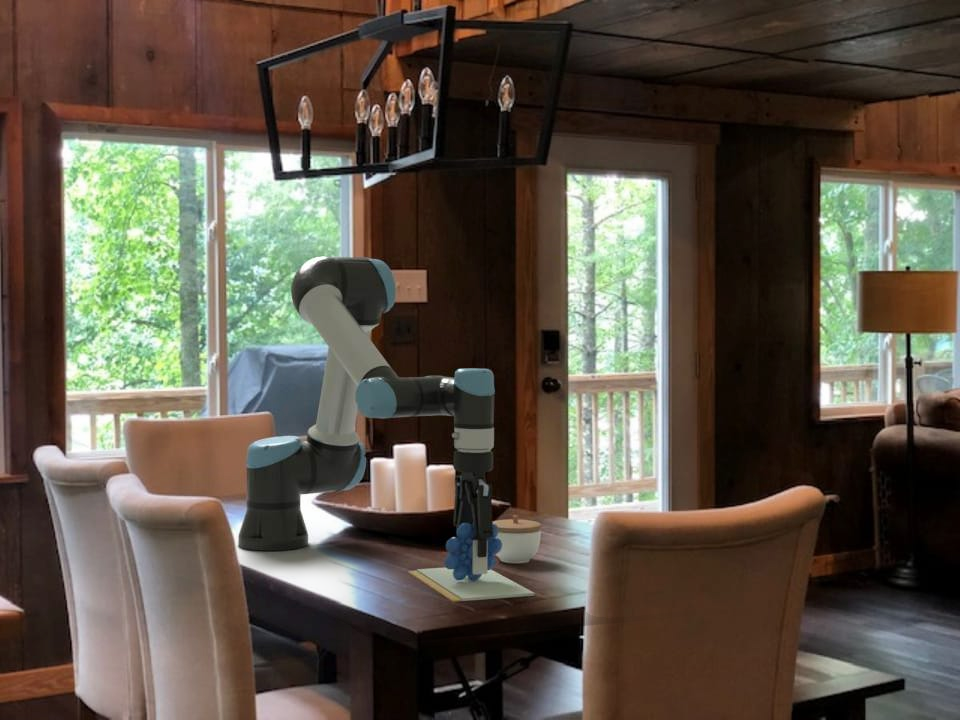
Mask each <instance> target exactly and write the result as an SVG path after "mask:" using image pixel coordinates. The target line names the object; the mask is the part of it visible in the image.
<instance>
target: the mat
mask: <svg viewBox="0 0 960 720" xmlns="http://www.w3.org/2000/svg"><path fill="white" fill-rule="evenodd" d="M453 570H454V569H447V568H446V567H434V568H433V567H432V568H419V569H418V568H417V569H416V571H417V572H419V573H420V574H422V575H423V576H425V577H426V578H428V579H430V580H431V581H433V582H434V583H436V584H437V585H439V586H440V587H442V588H444V589H445V590H447V591H448V592H450V593H451V594H453V595H455V596H456V597H458V598H459V599H461V601H460V602H467V601H470V602H471V601H482V600H494V599H496V600H497V599H505V598H506V599H507V598H508V599H509V598H518V597H519V598H520V597H521V598H522V597H531V596H533V597H534V596H535V592H533V591H532V590H530V589H528V588H526V587H524V586H522V585H521V584H518V583H517V582H515V581H513V580H511V579H509V578H508V577H506V576H503V575H502V574H500V573H499V572H496V571H494V570H492V569H490V570H487V574H482V575H481V577H480V578H479V579H477V580H470V579H468V576H466V577H465V578H464V579H463V580H456V579H455V578H454V576H453Z"/></svg>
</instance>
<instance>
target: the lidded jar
mask: <svg viewBox="0 0 960 720" xmlns="http://www.w3.org/2000/svg"><path fill="white" fill-rule="evenodd" d="M492 522H493V524H495V525H497V527H498V530H499V531H498V535H497V536H496V537H495V538H498V539H500V540H501V542H502V548H501V550H500V551H499V552H498V553H497V554H495V555H496V556H497V558H499V560H500V562H502V563H508V564H525V563H529V562H530V561H531V559H532V558H533V557H534V556H535V555H536V553H537V552H538V550H539V547H540V543H541V536H542V535H541V534H542V533H541V532H542V531H541V530H542V524H541V522H539V521H535V520H529V519H519V516H518V515H515V514H514V515H512V518H511V519H509V518H508V519H498V520H494V521H493V520H492Z"/></svg>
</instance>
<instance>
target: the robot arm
mask: <svg viewBox="0 0 960 720" xmlns="http://www.w3.org/2000/svg"><path fill="white" fill-rule="evenodd" d="M295 272H296V273H294V276H293V279H292V282H291V285H290V294H291V295H290V296H291V301H292V305H293V307H294V308H295V310H296V312H297V313H298V315H299V317H301V319H302V320H303V321H304V322H305V323H308V324H311V325H312V326H313V327H314V328H315V330H316V331H317V332H318V334H319V335H320V337H321V338H322V340H324V342H325V344H326V345H327V346H328V350H327V354H326V359H325V360H326V361H325V367H324V372H323V373H324V375H323V380H322V384H321V385H322V386H321V392H320V398H319V405H318V410H317V414H316V415H317V416H316V421H315V422H316V423H314V425H312V426H311V427H309V429H308V430H307V435H306V440H305V441H302V440H301V438H300V437H299V436H296V435H295V436H294V435H282V436H271V437H267V438H262V439H259V440H256V441H253V442H252V443H250V445H249V446H248V447H247V453H246V461H245V466H246V512H245V514H244V518H243V520H242V524H241V526H240V530H239V533H238V539H237V543H238V544H237V545H238V547H240V548H242V549H246V550H252V551H253V550H254V551H268V552H269V551H271V552H272V551H273V552H274V551H288V550H295V549H301V548H304V547H306V546H308V545H309V532H308V530H307V525H306V522H305V519H304V515H303V514H302V509H301V495H313V494H321V493H325V494H326V493H339V492H342V491H348V490H352V489H353V488H355V487H357V486H358V484H359V483H360V482H361V480H362V479H363V477H364V474H365V471H366V467H367V457H366V456H365V455H366V450H365V447H364V445H363V443H362V442H361V441H360V436H359V435H358V432H356V431H355V427H356V422H357V421H356V420H357V415H358V412H359V413H360V415H362V416H363V417H364V418H365V417H366V418H369V419H370V418H371V419H372V418H373V419H381V420H382V419H390V418H391V419H392V418H406V417H407V418H408V417H426V416H429V417H430V416H431V417H432V416H449V417H453V418H454V419H453V420H454V422H453V428H454V432H453V433H451V437H452V438H453V439H454V440H453V446H454V449H456V450H455V451H454V452H453V469H454V470H455V471H457V472H461V475H455V476H454V485H455V492H454V505H453V507H454V509H453V523H452V524H453V527H456V530H457V529H458V527H459V526H460V525H461V524H462V523H469V524H470V525H471V526H472V523H473V525H474V533H475V536H473V537H472V540H473V571H472V574H487V560H488V539H489V538H492V537H493V503H492V502H493V501H492V498H493V497H492V496H493V485H492V483H491V484H487V481H486V472H491V471H492V470H493V469H494V452H493V451H492V449H493V448H494V446H495V443H494V442H495V427H494V423H495V421H494V419H495V415H494V414H495V394H496V393H495V392H496V390H495V375H494V373H493V371H492V370H491V369H489V368H479V367H478V368H475V367H474V368H473V367H472V368H469V367H468V368H458V369H457V370H455V372H454V377H451V376H443V375H439V374H438V375H432V374H431V375H426V376H420V377H419V376H418V377H415V376H414V377H411V376H410V377H400V376H398V375H397V373H396V372H395V371H394V369H393V368H392V367H391V366H390V364H389V363H388V362H387V360H386V359H385V357H384V356H383V355H382V353H380V351H379V349H377V347H376V345H375V344H374V343H373V341H372V339H371V334H372V330H373V329H375V327H377V326H379V325H380V322H381V318H382V314H385V313H387V312H389V311H391V310H392V309H391V308H393V307H394V304H395V301H396V297H397V289H396V288H397V287H396V281H395V277H394V275H393V273H392V270H391V268H390V267H389V266H388V264H387V263H386V262H384V261H383V260H380V259H375V258H369V257H365V256H363V257H354V256H353V257H351V256H350V257H349V256H348V257H344V256H336V257H335V256H324V255H323V256H318V257H314V258H312V259H309V260H307V261H305V262H304V263H303V264H302V265H301V266H300V267H299V268H298V269H297V271H295Z"/></svg>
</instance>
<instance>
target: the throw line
mask: <svg viewBox="0 0 960 720" xmlns="http://www.w3.org/2000/svg"><path fill="white" fill-rule="evenodd" d="M407 573H408V574H410V575H411V576H413V577H414V578H416V579H417V580H419V581H421V582H422V583H424V584H425V585H426V586H428V587H430V588H431V589H433V590H435V592H437V593H439V594H440V595H442V596H444V598H447V599H448V600H449V601H451V602H453V603H454V602H457V603H458V602H462V601H461V599H459V598H458V597H456V596H455V595H453V594H451V593H450V592H448V591H447V590H445V589H444V588H442V587H440V586H439V585H437V584H436V583H434V582H433V581H431V580H430V579H428V578H426V577H425V576H423V575H422V574H420V573H419V572H417V570H408V572H407Z"/></svg>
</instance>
